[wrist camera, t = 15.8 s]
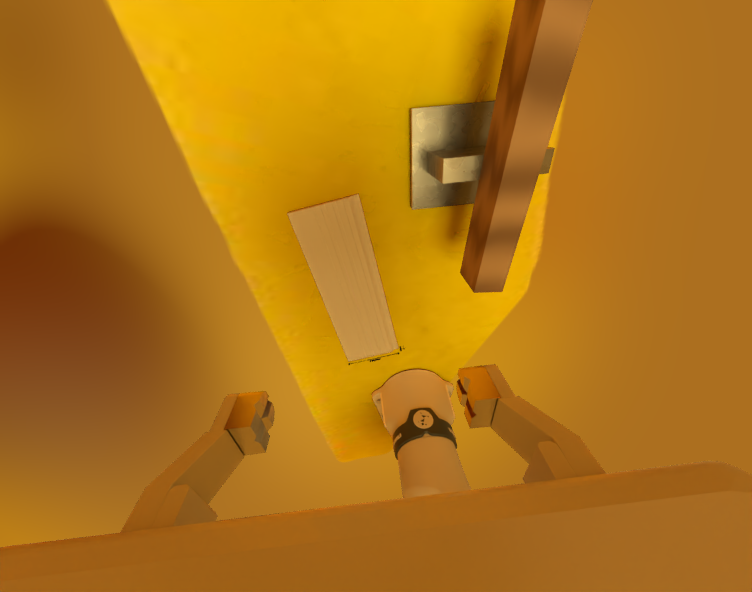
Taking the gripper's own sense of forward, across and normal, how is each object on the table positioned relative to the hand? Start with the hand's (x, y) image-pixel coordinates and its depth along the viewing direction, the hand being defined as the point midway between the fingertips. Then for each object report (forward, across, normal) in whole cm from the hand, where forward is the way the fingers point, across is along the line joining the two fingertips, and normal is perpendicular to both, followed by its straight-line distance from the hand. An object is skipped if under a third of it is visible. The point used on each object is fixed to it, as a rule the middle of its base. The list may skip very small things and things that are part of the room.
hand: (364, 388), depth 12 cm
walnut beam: (+24, -16, -4) cm, 29 cm away
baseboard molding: (+34, +2, +16) cm, 37 cm away
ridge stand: (+33, -16, -4) cm, 37 cm away
